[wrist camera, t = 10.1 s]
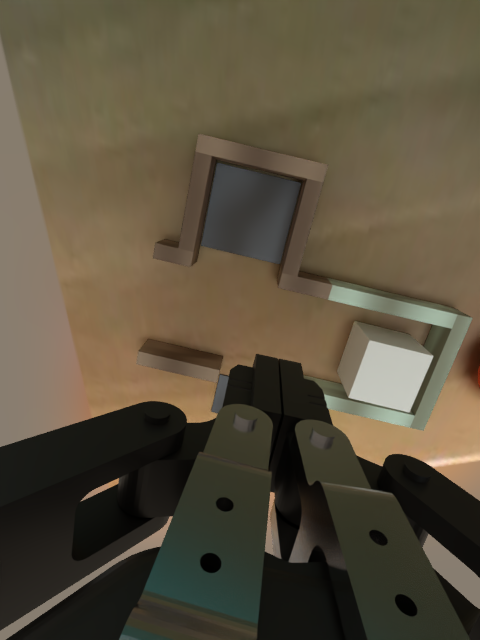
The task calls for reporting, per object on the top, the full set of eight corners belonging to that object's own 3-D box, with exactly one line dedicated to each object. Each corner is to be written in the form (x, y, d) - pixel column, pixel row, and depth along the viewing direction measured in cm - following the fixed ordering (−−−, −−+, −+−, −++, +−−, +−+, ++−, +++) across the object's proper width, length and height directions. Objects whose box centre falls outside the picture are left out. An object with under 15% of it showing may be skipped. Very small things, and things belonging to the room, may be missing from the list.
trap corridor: (495, 209, 30) (519, 211, 27) (393, 452, 37) (404, 474, 34) (182, 134, 30) (173, 127, 27) (139, 394, 37) (128, 410, 34)
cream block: (409, 334, 34) (433, 355, 29) (389, 383, 35) (409, 412, 30) (354, 320, 34) (369, 340, 29) (336, 370, 35) (348, 397, 30)
